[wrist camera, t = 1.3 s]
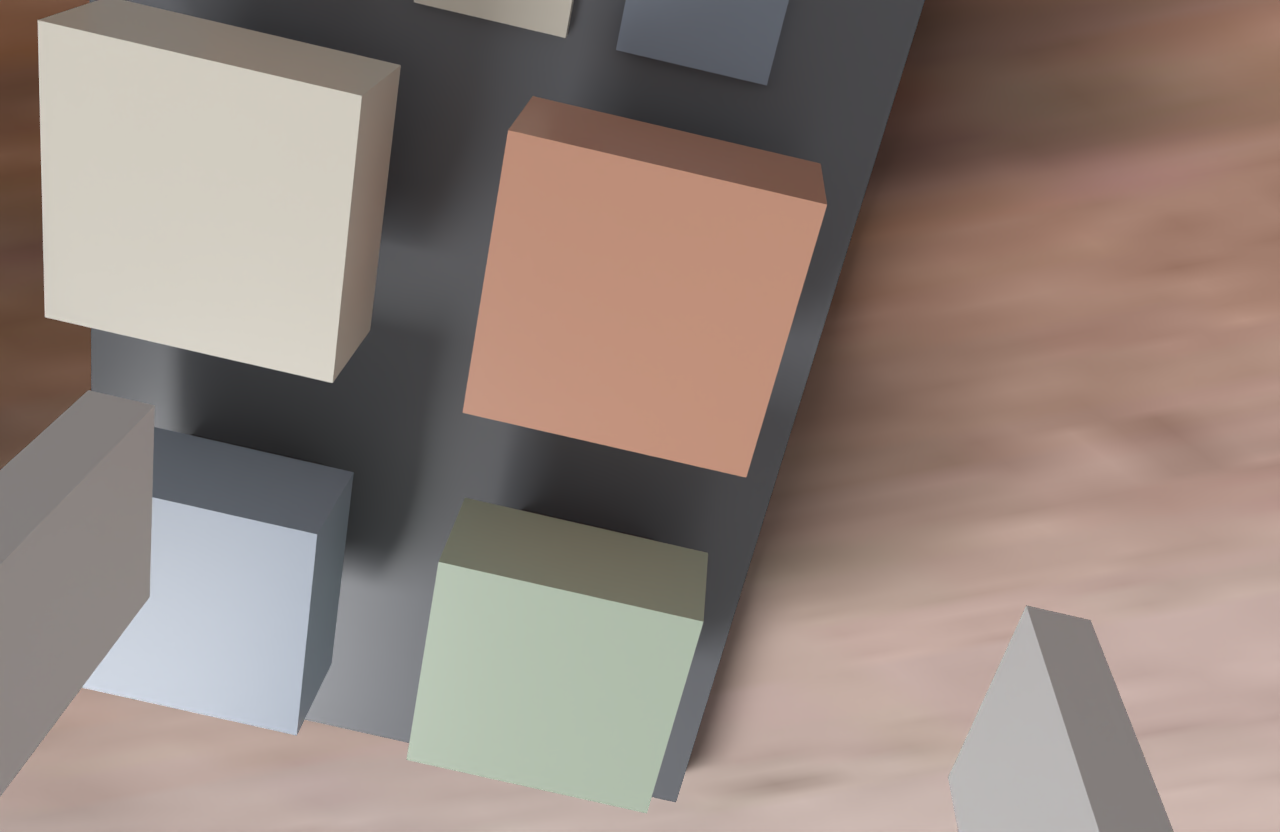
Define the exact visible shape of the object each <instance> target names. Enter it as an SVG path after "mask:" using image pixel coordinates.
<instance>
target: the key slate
mask: <svg viewBox="0 0 1280 832" xmlns="http://www.w3.org/2000/svg"><path fill="white" fill-rule="evenodd" d="M353 475H354V472H350V471H346V470H341V469H337V468H333V467H328V466H324V465H319V464H315V463H311V462H306V461H302V460H297V459H293V458H289V457H284V456H280V455H275V454H271V453H267V452H262V451H258V450H253V449H249V448H245V447H240V446H236V445H231V444H227V443H223V442H218V441H214V440H209V439H205V438H201V437H196V436H192V435H187V434H183V433H179V432H174V431H170V430H165V429H161V428H157V427H154V452H153V490H152V529H151V568H150V597H149V599H148V600H147V601H146V603H145V604H144V605H143V607H142V608H141V609H140V611H139V612H138V613H137V615H136V616H135V617H134V619H133V620H132V621H131V623H130V624H129V625H128V627H127V628H126V629H125V631H124V632H123V633H122V635H121V636H120V637H119V639H118V640H117V641H116V643H115V644H114V645H113V647H112V648H111V649H110V651H109V652H108V653H107V655H106V656H105V657H104V659H103V660H102V661H101V663H100V664H99V665H98V667H97V668H96V669H95V671H94V672H93V673H92V675H91V676H90V677H89V679H88V680H87V681H86V683H85V684H84V685H83V687H82V688H86V689H90V690H95V691H99V692H104V693H108V694H113V695H117V696H122V697H126V698H131V699H135V700H140V701H144V702H149V703H153V704H158V705H162V706H167V707H171V708H176V709H180V710H185V711H189V712H194V713H198V714H203V715H207V716H212V717H216V718H221V719H225V720H230V721H234V722H239V723H243V724H248V725H252V726H257V727H261V728H266V729H270V730H275V731H279V732H284V733H288V734H293V735H297V734H298V732H299V730H300V728H301V726H302V724H303V722H304V719H305V717H306V715H307V713H308V711H309V709H310V707H311V705H312V703H313V701H314V699H315V697H316V695H317V693H318V691H319V689H320V687H321V684H322V682H323V680H324V678H325V676H326V674H327V672H328V670H329V668H330V666H331V664H332V656H333V647H334V639H335V630H336V622H337V613H338V604H339V596H340V587H341V578H342V570H343V561H344V552H345V544H346V535H347V526H348V518H349V509H350V501H351V492H352V483H353Z"/></svg>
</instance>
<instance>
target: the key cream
mask: <svg viewBox="0 0 1280 832" xmlns="http://www.w3.org/2000/svg"><path fill="white" fill-rule="evenodd" d="M38 54H39V96H40V137H41V178H42V220H43V261H44V303H45V317H46V318H50V319H55V320H59V321H64V322H68V323H72V324H77V325H81V326H85V327H90V328H94V329H99V330H103V331H107V332H112V333H116V334H120V335H125V336H129V337H134V338H138V339H142V340H147V341H151V342H155V343H160V344H164V345H168V346H173V347H177V348H182V349H186V350H190V351H195V352H199V353H203V354H208V355H212V356H217V357H221V358H225V359H230V360H234V361H238V362H243V363H247V364H252V365H256V366H260V367H265V368H269V369H273V370H278V371H282V372H287V373H291V374H295V375H300V376H304V377H308V378H313V379H317V380H322V381H326V382H330V383H333V382H334V380H335V379H336V378H337V376H338V375H339V373H340V372H341V371H342V369H343V368H344V366H345V365H346V364H347V362H348V361H349V359H350V358H351V357H352V355H353V354H354V352H355V351H356V349H357V348H358V347H359V345H360V344H361V342H362V341H363V340H364V338H365V337H366V335H367V334H368V333H369V331H370V328H371V319H372V310H373V302H374V293H375V285H376V276H377V267H378V259H379V250H380V241H381V233H382V224H383V215H384V207H385V198H386V189H387V181H388V172H389V164H390V155H391V146H392V138H393V129H394V120H395V112H396V103H397V94H398V86H399V77H400V69H401V65H398V64H394V63H390V62H385V61H381V60H377V59H373V58H368V57H364V56H360V55H356V54H351V53H347V52H343V51H339V50H334V49H330V48H326V47H321V46H317V45H313V44H309V43H304V42H300V41H296V40H292V39H287V38H283V37H279V36H275V35H270V34H266V33H262V32H257V31H253V30H249V29H245V28H240V27H236V26H232V25H228V24H223V23H219V22H215V21H211V20H206V19H202V18H198V17H193V16H189V15H185V14H181V13H176V12H172V11H168V10H164V9H159V8H155V7H151V6H147V5H142V4H138V3H134V2H130V1H125V0H97V1H94V2H91V3H88V4H85V5H82V6H79V7H76V8H73V9H70V10H67V11H64V12H61V13H58V14H55V15H52V16H49V17H46V18H43V19H40V20H38Z"/></svg>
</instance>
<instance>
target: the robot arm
mask: <svg viewBox="0 0 1280 832" xmlns="http://www.w3.org/2000/svg"><path fill="white" fill-rule="evenodd" d="M154 413H155V405H151V404H146V403H142V402H138V401H133V400H129V399H125V398H120V397H116V396H112V395H107V394H103V393H98V392H94V391H90V390H88V391H87V392H86V393H85V394H84V395H83V396H81V397H80V398H79V399H78V400H77V401H76V402H75V403H74V404H73V405H71V406H70V407H69V408H68V409H67V410H66V411H65V412H64V413H63V414H62V415H60V416H59V417H58V418H57V419H56V420H55V421H54V422H53V423H52V424H51V425H49V426H48V427H47V428H46V429H45V430H44V431H43V432H42V433H41V434H39V435H38V436H37V437H36V438H35V439H34V440H33V441H32V442H31V443H30V444H28V445H27V446H26V447H25V448H24V449H23V450H22V451H21V452H20V453H18V454H17V455H16V456H15V457H14V458H13V459H12V460H11V461H10V462H9V463H7V464H6V465H5V466H4V467H3V468H2V469H1V470H0V796H1V795H2V794H3V792H4V791H5V790H6V788H7V787H8V786H9V784H10V783H11V782H12V780H13V779H14V778H15V776H16V775H17V774H18V772H19V771H20V770H21V768H22V767H23V766H24V764H25V763H26V762H27V760H28V759H29V758H30V756H31V755H32V753H33V752H34V751H35V749H36V748H37V747H38V745H39V744H40V743H41V741H42V740H43V739H44V737H45V736H46V735H47V733H48V732H49V731H50V729H51V728H52V727H53V725H54V724H55V723H56V721H57V720H58V719H59V717H60V716H61V715H62V713H63V712H64V711H65V709H66V708H67V707H68V705H69V704H70V703H71V701H72V700H73V699H74V697H75V696H76V695H77V693H78V692H79V691H80V689H81V688H82V687H83V685H84V684H85V683H86V681H87V680H88V679H89V677H90V676H91V675H92V673H93V672H94V671H95V669H96V668H97V667H98V665H99V664H100V663H101V661H102V660H103V659H104V657H105V656H106V655H107V653H108V652H109V651H110V649H111V648H112V647H113V645H114V644H115V643H116V641H117V640H118V639H119V637H120V636H121V635H122V633H123V632H124V631H125V629H126V628H127V627H128V625H129V624H130V623H131V621H132V620H133V619H134V617H135V616H136V615H137V613H138V612H139V611H140V609H141V608H142V607H143V605H144V604H145V603H146V601H147V600H148V599H149V597H150V568H151V529H152V490H153V452H154ZM948 779H949V785H950V790H951V795H952V800H953V806H954V811H955V816H956V822H957V827H958V832H1174V831H1173V829H1172V826H1171V824H1170V821H1169V819H1168V816H1167V814H1166V811H1165V808H1164V806H1163V803H1162V801H1161V798H1160V796H1159V793H1158V791H1157V788H1156V786H1155V783H1154V780H1153V778H1152V775H1151V773H1150V770H1149V768H1148V765H1147V763H1146V760H1145V758H1144V755H1143V752H1142V750H1141V747H1140V745H1139V742H1138V740H1137V737H1136V735H1135V732H1134V730H1133V727H1132V724H1131V722H1130V719H1129V717H1128V714H1127V712H1126V709H1125V707H1124V704H1123V702H1122V699H1121V696H1120V694H1119V691H1118V689H1117V686H1116V684H1115V681H1114V679H1113V676H1112V674H1111V671H1110V669H1109V666H1108V663H1107V661H1106V658H1105V656H1104V653H1103V651H1102V648H1101V646H1100V643H1099V641H1098V638H1097V635H1096V633H1095V630H1094V628H1093V625H1092V623H1091V620H1087V619H1083V618H1079V617H1074V616H1070V615H1066V614H1061V613H1057V612H1053V611H1048V610H1044V609H1039V608H1035V607H1031V606H1026V607H1025V610H1024V612H1023V614H1022V616H1021V618H1020V621H1019V623H1018V625H1017V627H1016V629H1015V632H1014V634H1013V636H1012V638H1011V640H1010V643H1009V645H1008V647H1007V649H1006V651H1005V654H1004V656H1003V658H1002V660H1001V662H1000V665H999V667H998V669H997V671H996V673H995V676H994V678H993V680H992V682H991V684H990V687H989V689H988V691H987V693H986V695H985V698H984V700H983V702H982V704H981V706H980V709H979V711H978V713H977V715H976V717H975V720H974V722H973V724H972V726H971V728H970V731H969V733H968V735H967V737H966V739H965V742H964V744H963V746H962V748H961V750H960V753H959V755H958V757H957V759H956V761H955V764H954V766H953V768H952V770H951V772H950V775H949V777H948Z"/></svg>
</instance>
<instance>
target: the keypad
mask: <svg viewBox="0 0 1280 832" xmlns="http://www.w3.org/2000/svg"><path fill="white" fill-rule="evenodd" d="M94 1H97V0H90V3H91V2H94ZM125 1H130V2H134V3H138V4H142V5H147V6H151V7H155V8H159V9H164V10H168V11H172V12H176V13H181V14H185V15H189V16H193V17H198V18H202V19H206V20H211V21H215V22H219V23H223V24H228V25H232V26H236V27H240V28H245V29H249V30H253V31H257V32H262V33H266V34H270V35H275V36H279V37H283V38H287V39H292V40H296V41H300V42H304V43H309V44H313V45H317V46H321V47H326V48H330V49H334V50H339V51H343V52H347V53H351V54H356V55H360V56H364V57H368V58H373V59H377V60H381V61H385V62H390V63H394V64H398V65H401V69H400V77H399V86H398V94H397V103H396V112H395V120H394V129H393V138H392V146H391V155H390V164H389V172H388V181H387V189H386V198H385V207H384V215H383V224H382V233H381V241H380V250H379V259H378V267H377V276H376V285H375V293H374V302H373V310H372V319H371V328H370V331H369V333H368V334H367V335H366V337H365V338H364V340H363V341H362V342H361V344H360V345H359V347H358V348H357V349H356V351H355V352H354V354H353V355H352V357H351V358H350V359H349V361H348V362H347V364H346V365H345V366H344V368H343V369H342V371H341V372H340V373H339V375H338V376H337V378H336V379H335V380H334V382H333V383H330V382H326V381H322V380H317V379H313V378H308V377H304V376H300V375H295V374H291V373H287V372H282V371H278V370H273V369H269V368H265V367H260V366H256V365H252V364H247V363H243V362H238V361H234V360H230V359H225V358H221V357H217V356H212V355H208V354H203V353H199V352H195V351H190V350H186V349H182V348H177V347H173V346H168V345H164V344H160V343H155V342H151V341H147V340H142V339H138V338H134V337H129V336H125V335H120V334H116V333H112V332H107V331H103V330H99V329H94V328H91V391H94V392H98V393H103V394H107V395H112V396H116V397H120V398H125V399H129V400H133V401H138V402H142V403H146V404H151V405H155V413H154V427H157V428H161V429H165V430H170V431H174V432H179V433H183V434H187V435H192V436H196V437H201V438H205V439H209V440H214V441H218V442H223V443H227V444H231V445H236V446H240V447H245V448H249V449H253V450H258V451H262V452H267V453H271V454H275V455H280V456H284V457H289V458H293V459H297V460H302V461H306V462H311V463H315V464H319V465H324V466H328V467H333V468H337V469H341V470H346V471H350V472H354V475H353V483H352V492H351V501H350V509H349V518H348V526H347V535H346V544H345V552H344V561H343V570H342V578H341V587H340V596H339V604H338V613H337V622H336V630H335V639H334V647H333V656H332V664H331V666H330V668H329V670H328V672H327V674H326V676H325V678H324V680H323V682H322V684H321V687H320V689H319V691H318V693H317V695H316V697H315V699H314V701H313V703H312V705H311V707H310V709H309V711H308V713H307V715H306V717H305V719H304V720H309V721H313V722H318V723H322V724H327V725H331V726H336V727H340V728H345V729H349V730H354V731H358V732H363V733H367V734H372V735H376V736H381V737H385V738H390V739H394V740H398V741H403V742H407V743H409V742H410V736H411V729H412V723H413V717H414V711H415V705H416V698H417V692H418V686H419V680H420V674H421V667H422V661H423V655H424V649H425V643H426V636H427V630H428V624H429V618H430V612H431V605H432V599H433V593H434V587H435V581H436V574H437V568H438V562H439V559H440V557H441V555H442V552H443V550H444V547H445V545H446V542H447V540H448V538H449V535H450V533H451V530H452V528H453V525H454V523H455V521H456V518H457V516H458V513H459V511H460V508H461V506H462V504H463V501H464V499H465V498H469V499H473V500H478V501H482V502H487V503H491V504H495V505H500V506H504V507H509V508H513V509H517V510H522V511H526V512H531V513H535V514H539V515H544V516H548V517H553V518H557V519H561V520H566V521H570V522H575V523H579V524H583V525H588V526H592V527H597V528H601V529H605V530H610V531H614V532H619V533H623V534H627V535H632V536H636V537H641V538H645V539H649V540H654V541H658V542H663V543H667V544H671V545H676V546H680V547H685V548H689V549H693V550H698V551H702V552H707V553H708V563H707V578H706V593H705V608H704V622H703V625H702V629H701V632H700V635H699V639H698V642H697V646H696V649H695V652H694V656H693V659H692V662H691V666H690V669H689V673H688V676H687V679H686V683H685V686H684V689H683V693H682V696H681V700H680V703H679V706H678V710H677V713H676V716H675V720H674V723H673V727H672V730H671V733H670V737H669V740H668V743H667V747H666V750H665V754H664V757H663V760H662V764H661V767H660V770H659V774H658V777H657V781H656V784H655V787H654V791H653V794H652V797H654V798H659V799H663V800H668V801H672V802H676V800H677V797H678V794H679V791H680V788H681V784H682V781H683V778H684V775H685V771H686V768H687V765H688V762H689V759H690V755H691V752H692V749H693V746H694V742H695V739H696V736H697V733H698V730H699V726H700V723H701V720H702V717H703V713H704V710H705V707H706V704H707V701H708V697H709V694H710V691H711V688H712V684H713V681H714V678H715V675H716V672H717V668H718V665H719V662H720V659H721V655H722V652H723V649H724V646H725V643H726V639H727V636H728V633H729V630H730V626H731V623H732V620H733V617H734V614H735V610H736V607H737V604H738V601H739V597H740V594H741V591H742V588H743V585H744V581H745V578H746V575H747V572H748V568H749V565H750V562H751V559H752V556H753V552H754V549H755V546H756V543H757V539H758V536H759V533H760V530H761V527H762V523H763V520H764V517H765V514H766V510H767V507H768V504H769V501H770V498H771V494H772V491H773V488H774V485H775V481H776V478H777V475H778V472H779V469H780V465H781V462H782V459H783V456H784V452H785V449H786V446H787V443H788V440H789V436H790V433H791V430H792V427H793V423H794V420H795V417H796V414H797V411H798V407H799V404H800V401H801V398H802V394H803V391H804V388H805V385H806V382H807V378H808V375H809V372H810V369H811V365H812V362H813V359H814V356H815V353H816V349H817V346H818V343H819V340H820V336H821V333H822V330H823V327H824V324H825V320H826V317H827V314H828V311H829V307H830V304H831V301H832V298H833V295H834V291H835V288H836V285H837V282H838V278H839V275H840V272H841V269H842V266H843V262H844V259H845V256H846V253H847V249H848V246H849V243H850V240H851V237H852V233H853V230H854V227H855V224H856V220H857V217H858V214H859V211H860V208H861V204H862V201H863V198H864V195H865V191H866V188H867V185H868V182H869V179H870V175H871V172H872V169H873V166H874V162H875V159H876V156H877V153H878V150H879V146H880V143H881V140H882V137H883V133H884V130H885V127H886V124H887V121H888V117H889V114H890V111H891V108H892V104H893V101H894V98H895V95H896V92H897V88H898V85H899V82H900V79H901V75H902V72H903V69H904V66H905V63H906V59H907V56H908V53H909V50H910V46H911V43H912V40H913V37H914V34H915V30H916V27H917V24H918V21H919V17H920V14H921V11H922V8H923V5H924V1H925V0H125ZM532 96H535V97H539V98H543V99H548V100H552V101H556V102H560V103H565V104H569V105H573V106H577V107H582V108H586V109H590V110H595V111H599V112H603V113H607V114H612V115H616V116H620V117H624V118H629V119H633V120H637V121H641V122H646V123H650V124H654V125H659V126H663V127H667V128H671V129H676V130H680V131H684V132H688V133H693V134H697V135H701V136H705V137H710V138H714V139H718V140H723V141H727V142H731V143H735V144H740V145H744V146H748V147H752V148H757V149H761V150H765V151H769V152H774V153H778V154H782V155H786V156H791V157H795V158H799V159H804V160H808V161H812V162H816V163H821V169H822V175H823V181H824V188H825V194H826V200H827V207H826V210H825V214H824V217H823V221H822V224H821V227H820V231H819V234H818V237H817V241H816V244H815V248H814V251H813V254H812V258H811V261H810V264H809V268H808V271H807V275H806V278H805V281H804V285H803V288H802V291H801V295H800V298H799V301H798V305H797V308H796V312H795V315H794V318H793V322H792V325H791V328H790V332H789V335H788V339H787V342H786V345H785V349H784V352H783V355H782V359H781V362H780V366H779V369H778V372H777V376H776V379H775V382H774V386H773V389H772V393H771V396H770V399H769V403H768V406H767V409H766V413H765V416H764V420H763V423H762V426H761V430H760V433H759V436H758V440H757V443H756V447H755V450H754V453H753V457H752V460H751V463H750V467H749V470H748V474H747V477H741V476H737V475H733V474H728V473H724V472H719V471H715V470H711V469H706V468H702V467H698V466H693V465H689V464H684V463H680V462H676V461H671V460H667V459H663V458H658V457H654V456H649V455H645V454H641V453H636V452H632V451H628V450H623V449H619V448H615V447H610V446H606V445H601V444H597V443H593V442H588V441H584V440H580V439H575V438H571V437H566V436H562V435H558V434H553V433H549V432H545V431H540V430H536V429H531V428H527V427H523V426H518V425H514V424H510V423H505V422H501V421H496V420H492V419H488V418H483V417H479V416H475V415H470V414H466V413H463V407H464V401H465V394H466V388H467V382H468V376H469V370H470V363H471V357H472V351H473V345H474V339H475V332H476V326H477V320H478V314H479V308H480V301H481V295H482V289H483V283H484V277H485V270H486V264H487V258H488V252H489V246H490V239H491V233H492V227H493V221H494V215H495V208H496V202H497V196H498V190H499V184H500V177H501V171H502V165H503V159H504V153H505V146H506V140H507V134H508V130H509V128H510V127H511V125H512V124H513V123H514V121H515V120H516V118H517V117H518V116H519V114H520V113H521V112H522V110H523V109H524V107H525V106H526V105H527V103H528V102H529V100H530V99H531V98H532Z"/></svg>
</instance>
